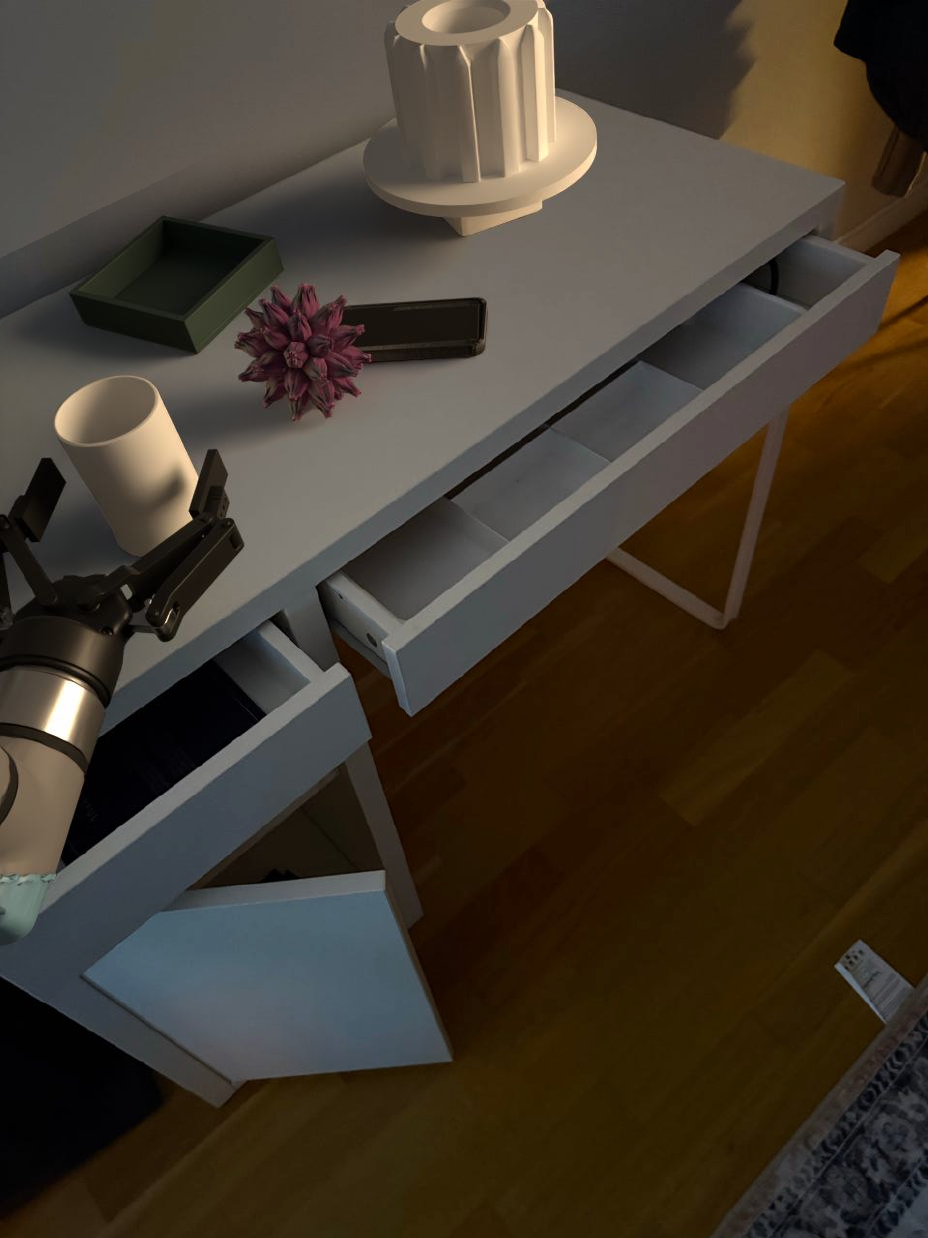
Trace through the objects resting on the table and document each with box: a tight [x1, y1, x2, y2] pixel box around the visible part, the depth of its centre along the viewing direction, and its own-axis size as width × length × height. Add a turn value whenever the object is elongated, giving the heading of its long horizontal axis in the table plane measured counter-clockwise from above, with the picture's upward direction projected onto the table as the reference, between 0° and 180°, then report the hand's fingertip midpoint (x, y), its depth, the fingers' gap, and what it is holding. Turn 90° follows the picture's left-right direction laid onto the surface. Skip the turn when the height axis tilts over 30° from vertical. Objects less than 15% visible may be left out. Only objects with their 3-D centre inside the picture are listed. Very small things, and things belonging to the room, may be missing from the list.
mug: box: [51, 375, 199, 558], centre depth 73 cm, size 12×8×12 cm
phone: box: [339, 296, 489, 362], centre depth 88 cm, size 8×1×15 cm
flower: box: [233, 282, 372, 422], centre depth 79 cm, size 12×12×12 cm
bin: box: [67, 214, 285, 355], centre depth 96 cm, size 16×16×4 cm
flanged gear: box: [362, 0, 598, 237], centre depth 94 cm, size 25×25×19 cm
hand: (135, 465), depth 71 cm, fingers open, 13 cm apart
